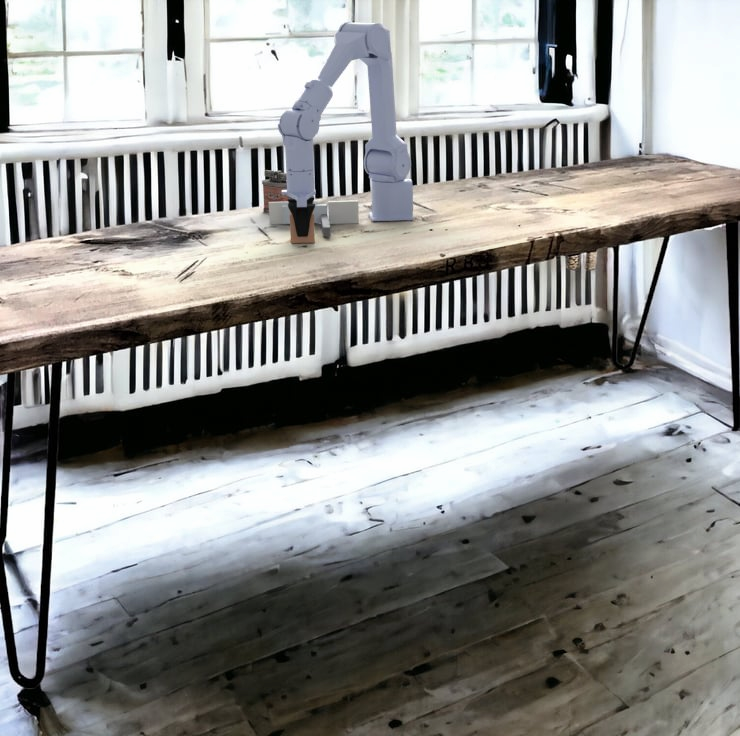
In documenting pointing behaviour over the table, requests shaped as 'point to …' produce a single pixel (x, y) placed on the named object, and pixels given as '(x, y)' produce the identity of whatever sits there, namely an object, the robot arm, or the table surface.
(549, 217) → the table surface
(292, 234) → the block
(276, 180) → the lighter
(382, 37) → the robot arm
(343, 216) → the white thin slab
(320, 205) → the sliding door
